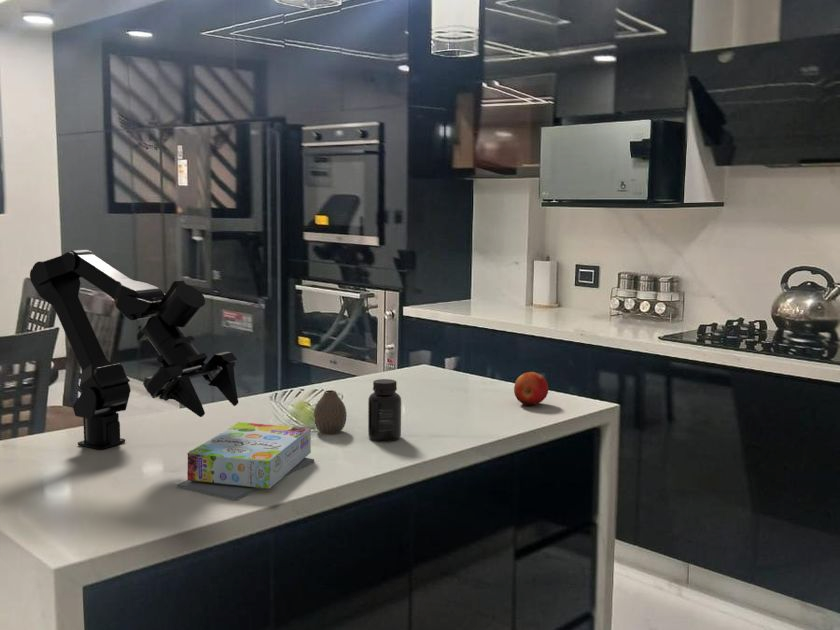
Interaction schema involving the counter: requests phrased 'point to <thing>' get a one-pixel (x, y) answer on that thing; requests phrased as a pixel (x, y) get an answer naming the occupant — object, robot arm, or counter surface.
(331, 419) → the vase
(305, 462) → the mat
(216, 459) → the snack box
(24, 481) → the counter surface
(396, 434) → the supplement bottle
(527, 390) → the apple
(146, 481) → the counter surface
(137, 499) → the counter surface
